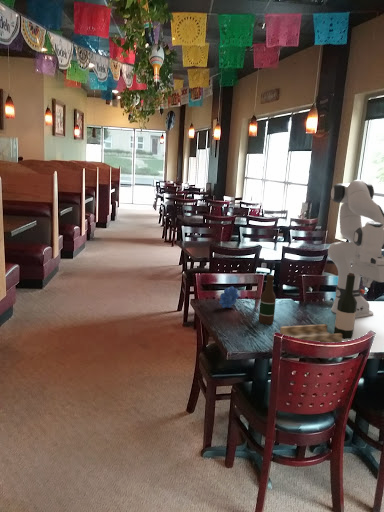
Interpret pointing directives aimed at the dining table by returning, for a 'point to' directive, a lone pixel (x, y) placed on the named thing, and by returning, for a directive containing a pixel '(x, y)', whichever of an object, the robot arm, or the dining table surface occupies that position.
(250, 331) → the dining table surface
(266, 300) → the beer bottle
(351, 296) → the wine bottle
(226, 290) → the grapes
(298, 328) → the cradle
